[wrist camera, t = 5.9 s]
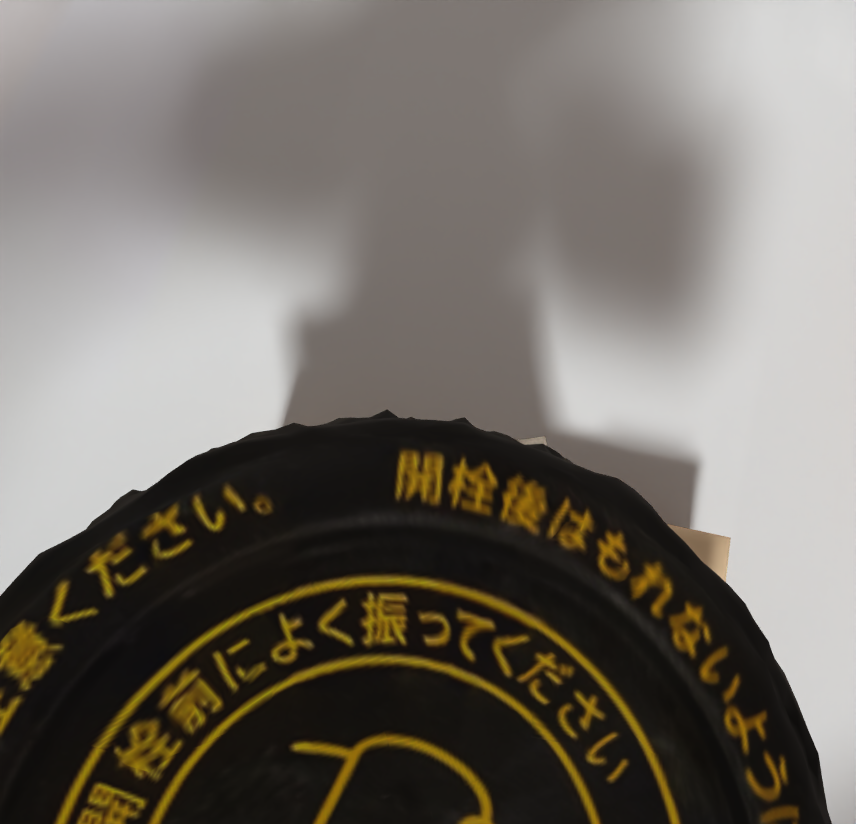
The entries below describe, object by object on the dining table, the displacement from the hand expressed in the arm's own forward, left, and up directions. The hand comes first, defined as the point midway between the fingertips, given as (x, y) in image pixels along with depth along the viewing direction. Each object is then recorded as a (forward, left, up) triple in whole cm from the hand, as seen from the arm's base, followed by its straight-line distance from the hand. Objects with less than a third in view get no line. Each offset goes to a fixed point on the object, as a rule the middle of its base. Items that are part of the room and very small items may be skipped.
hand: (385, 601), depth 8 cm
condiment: (-1, -1, -7) cm, 7 cm away
